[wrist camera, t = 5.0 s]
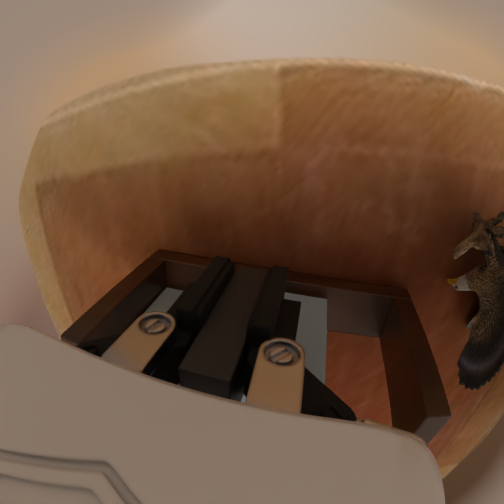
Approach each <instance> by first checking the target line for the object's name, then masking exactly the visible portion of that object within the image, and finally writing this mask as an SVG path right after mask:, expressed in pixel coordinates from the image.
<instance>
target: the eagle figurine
mask: <svg viewBox="0 0 504 504" xmlns="http://www.w3.org/2000/svg"><path fill="white" fill-rule="evenodd" d="M503 219H504V212H500V213H499V214H498V216H497V217H496V218H492V219H491V220H487V221H485V220H484V219H483V218H482V217H481V215H480V214H479V213H474V222H473V223H472V233H471V234H470V235H469V236H468V237H467V238H465V239H464V240H463V241H462V242H461V243H460V244H458V245H457V246H456V247H455V248H454V249H453V253H452V257H453V258H454V259H457V258H458V257H459V256H461V255H463V254H464V253H465V252H467V251H468V250H469V249H470V248H471V247H472V248H473V247H474V248H476V249H479V250H480V249H481V252H482V255H483V256H484V257H485V258H486V262H485V263H483V264H481V265H479V266H477V267H476V268H474V269H473V270H471V271H470V272H469V273H466V274H465V275H463V276H460V277H458V278H455V279H449V278H448V279H447V282H448V283H449V284H450V285H452V286H453V287H454V289H455V290H458V291H475V292H477V294H478V296H479V303H480V309H479V312H478V313H477V314H476V315H475V316H474V317H473V318H472V320H471V321H470V322H469V323H468V325H467V326H466V328H470V329H471V333H470V338H469V341H468V342H467V344H466V345H465V347H464V349H463V351H462V353H461V355H460V358H459V360H458V367H459V373H458V376H459V379H460V381H459V384H460V385H465V388H466V389H468V388H470V389H471V390H473V389H474V388H476V390H478V389H479V388H480V387H481V386H484V385H485V384H486V383H487V382H490V380H491V379H492V377H495V375H496V372H497V373H498V372H499V371H500V369H501V366H502V365H503V364H504V248H503V247H502V246H500V245H499V243H498V241H497V240H496V239H495V238H496V237H499V238H504V227H496V226H495V225H497V224H498V223H500V222H502V221H503Z"/></svg>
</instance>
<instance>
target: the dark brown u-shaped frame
mask: <svg viewBox="0 0 504 504" xmlns="http://www.w3.org/2000/svg"><path fill="white" fill-rule="evenodd" d="M212 261H213V259H211V258H205V257H199V256H193V255H187V254H182V253H176V252H170V251H164V250H157V251H156V252H155V253H153V254H152V255H151V256H150V257H149V258H148V259H146V260H145V261H144V262H143V263H142V264H140V265H139V266H138V267H137V268H136V269H134V270H133V271H132V272H131V273H130V274H129V275H127V276H126V277H125V278H124V279H123V280H122V281H120V282H119V283H118V284H117V285H116V286H115V287H113V288H112V289H111V290H110V291H109V292H108V293H107V294H106V295H104V296H103V297H102V298H101V299H100V300H99V301H98V302H97V303H95V304H94V305H93V306H92V307H91V308H90V309H89V310H88V311H87V312H85V313H84V314H83V315H82V316H81V317H80V318H79V319H78V320H77V321H76V322H75V323H74V324H72V325H71V326H70V327H69V328H68V329H67V330H66V331H65V332H64V333H63V334H62V335H61V339H62V341H64V342H66V343H72V344H75V346H77V345H79V344H80V343H83V342H86V341H90V340H95V339H99V338H104V337H108V336H113V335H117V334H121V333H123V332H124V331H125V330H126V329H127V328H128V327H129V326H130V325H131V324H132V323H133V322H134V321H135V320H136V319H137V318H138V317H139V316H141V315H142V314H145V313H147V312H152V311H161V312H167V311H168V310H169V308H170V307H171V306H172V305H173V303H174V302H175V301H176V300H177V298H178V297H179V296H180V295H181V293H182V292H183V291H184V290H185V289H186V287H187V286H188V285H189V284H190V283H191V282H196V281H197V280H198V279H199V277H200V276H201V275H202V273H203V272H204V271H205V270H206V268H207V267H208V266H209V265H210V263H211V262H212ZM234 264H235V269H234V272H235V271H236V269H237V267H245V268H251V269H257V270H263V271H268V269H269V268H265V267H259V266H253V265H247V264H241V263H235V262H234ZM285 292H286V293H292V294H298V295H304V296H310V297H317V298H323V299H327V330H328V331H335V332H342V333H349V334H357V335H365V336H373V337H379V338H380V344H381V349H382V355H383V360H384V366H385V372H386V379H387V385H388V393H389V400H390V408H391V416H392V426H393V427H394V428H397V429H400V430H404V431H407V432H410V433H413V434H416V435H418V436H420V437H422V438H423V440H424V441H425V442H426V444H428V443H429V442H430V441H431V440H432V438H433V437H434V436H435V435H436V434H437V433H438V432H439V431H440V430H441V428H442V427H443V426H444V425H445V424H446V422H447V421H448V420H449V419H450V418H451V412H450V408H449V405H448V401H447V398H446V394H445V391H444V387H443V384H442V381H441V378H440V375H439V372H438V369H437V366H436V363H435V360H434V357H433V354H432V351H431V348H430V346H429V343H428V340H427V337H426V335H425V332H424V330H423V327H422V324H421V322H420V319H419V317H418V314H417V312H416V310H415V307H414V305H413V302H412V300H411V297H410V295H409V293H408V290H407V289H401V288H394V287H387V286H380V285H374V284H367V283H360V282H354V281H347V280H341V279H334V278H328V277H321V276H315V275H309V274H302V273H296V272H290V271H288V274H287V281H286V288H285Z"/></svg>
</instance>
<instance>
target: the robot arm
mask: <svg viewBox="0 0 504 504" xmlns="http://www.w3.org/2000/svg"><path fill="white" fill-rule="evenodd" d="M234 269H235V264H234V262H231V260H230V258H226V257H220V256H216V257H215V258H214V259H213V261H212V262H211V263H210V265H209V266H208V267H207V268H206V270H205V271H204V272H203V273H202V275H201V276H200V277H199V279H198V280H197V281H196V282H191V283H190V284H189V285H188V286H187V287H186V289H185V290H184V291H183V292H182V293H181V295H180V296H179V297H178V298H177V300H176V301H175V302H174V303H173V305H172V306H171V307H170V308H169V310H168V311H167V312H161V311H152V312H147V313H145V314H142V315H141V316H139V317H138V318H137V319H136V320H135V321H134V322H133V323H132V324H131V325H130V326H129V327H128V328H127V329H126V330H125V331H124V332H123V333H121V334H117V335H113V336H108V337H104V338H99V339H95V340H90V341H86V342H83V343H80V344H79V345H77V346H75V344H72V343H66V342H64V341H62V340H60V339H57V338H55V337H53V336H51V335H48V334H46V333H44V332H42V331H39V330H36V329H33V328H31V327H26V326H22V325H16V324H2V325H0V504H445V497H444V490H443V484H442V479H441V474H440V471H439V468H438V464H437V462H436V459H435V457H434V456H433V454H432V452H431V451H430V450H429V448H428V446H427V444H426V442H425V441H424V440H423V438H422V437H420V436H418V435H416V434H413V433H410V432H407V431H404V430H400V429H397V428H394V427H391V426H388V425H385V424H382V423H380V422H377V421H374V420H371V419H368V418H365V420H361V419H358V418H356V416H355V413H354V412H353V411H352V410H351V408H350V407H349V406H347V405H346V404H345V403H344V402H343V401H342V400H341V399H340V398H339V397H337V396H336V395H335V394H334V393H333V392H332V391H331V390H330V389H329V388H328V387H326V386H325V385H324V384H323V383H322V382H321V381H320V380H319V379H318V378H317V377H316V376H315V375H313V374H312V373H311V372H310V371H309V370H308V369H307V368H306V367H305V351H304V349H303V348H302V346H301V345H300V344H298V343H297V342H295V341H296V334H297V328H298V322H299V315H300V309H301V302H300V301H294V300H288V299H284V295H285V288H286V281H287V274H288V267H282V266H274V269H272V268H269V269H268V272H267V275H266V277H265V280H264V282H263V285H262V287H261V290H260V293H259V295H258V298H257V300H256V303H255V305H254V308H253V311H252V313H251V316H250V318H249V321H248V325H247V332H246V340H247V341H246V354H245V366H244V378H243V387H244V395H245V397H246V401H245V403H243V402H239V401H235V400H230V399H226V398H222V397H218V396H215V395H211V394H207V393H203V392H200V391H196V390H193V389H189V388H186V387H182V386H180V379H179V372H178V367H179V366H180V364H181V362H182V360H183V359H184V357H185V355H186V354H187V352H188V350H189V348H190V347H191V345H192V343H193V342H194V340H195V338H196V337H197V335H198V333H199V331H200V330H201V328H202V326H203V325H204V323H205V321H206V320H207V318H208V316H209V315H210V313H211V311H212V309H213V308H214V306H215V304H216V303H217V301H218V299H219V298H220V296H221V294H222V293H223V291H224V289H225V287H226V286H227V284H228V282H229V281H230V279H231V277H232V276H233V274H234Z"/></svg>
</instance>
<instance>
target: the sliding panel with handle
mask: <svg viewBox="0 0 504 504" xmlns="http://www.w3.org/2000/svg"><path fill="white" fill-rule="evenodd" d="M267 272H268V271H263V270H257V269H251V268H245V267H237V269H236V271H235V272H234V274H233V276H232V277H231V279H230V281H229V282H228V284H227V286H226V287H225V289H224V291H223V293H222V294H221V296H220V298H219V299H218V301H217V303H216V304H215V306H214V308H213V309H212V311H211V313H210V315H209V316H208V318H207V320H206V321H205V323H204V325H203V326H202V328H201V330H200V331H199V333H198V335H197V337H196V338H195V340H194V342H193V343H192V345H191V347H190V348H189V350H188V352H187V354H186V355H185V357H184V359H183V360H182V362H181V364H180V366H179V367H178V372H179V379H180V386H182V387H186V388H189V389H193V390H196V391H200V392H203V393H207V394H211V395H215V396H218V397H222V398H226V399H230V400H235V401H239V402H243V403H245V401H246V397H245V395H244V387H243V378H244V366H245V354H246V341H247V340H246V332H247V325H248V321H249V318H250V316H251V313H252V311H253V308H254V305H255V303H256V300H257V298H258V295H259V293H260V290H261V287H262V285H263V282H264V280H265V277H266V275H267ZM284 299H288V300H294V301H300V302H301V309H300V315H299V322H298V328H297V334H296V341H295V342H297V343H298V344H300V345H301V346H302V348H303V349H304V351H305V367H306V368H307V369H308V370H309V371H310V372H311V373H312V374H313V375H315V376H316V377H317V378H318V379H319V380H320V381H321V382H322V383H323V384H324V385H325V369H326V343H327V299H323V298H317V297H310V296H304V295H298V294H292V293H286V292H285V295H284Z"/></svg>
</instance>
